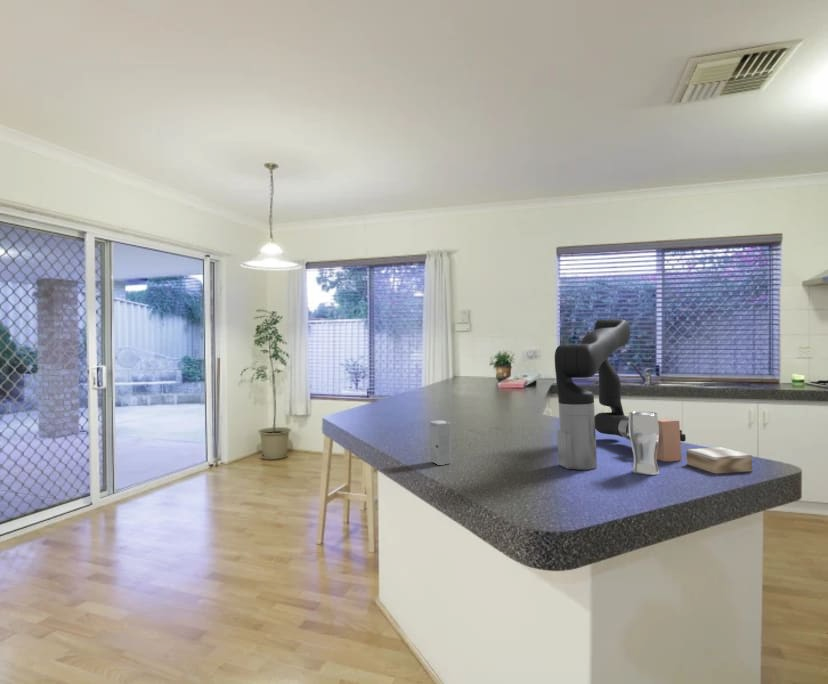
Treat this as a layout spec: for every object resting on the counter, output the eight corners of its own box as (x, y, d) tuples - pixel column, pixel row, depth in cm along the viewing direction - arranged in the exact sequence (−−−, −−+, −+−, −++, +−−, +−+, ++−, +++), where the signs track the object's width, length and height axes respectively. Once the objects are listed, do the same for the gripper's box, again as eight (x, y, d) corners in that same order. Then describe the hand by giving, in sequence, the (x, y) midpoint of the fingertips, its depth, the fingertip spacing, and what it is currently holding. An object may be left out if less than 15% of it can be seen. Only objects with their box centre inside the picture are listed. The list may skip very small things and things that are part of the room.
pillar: (664, 461, 130) (662, 421, 130) (653, 457, 135) (651, 419, 135) (681, 460, 130) (679, 420, 130) (669, 456, 135) (667, 418, 135)
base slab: (715, 473, 116) (714, 457, 116) (687, 464, 125) (686, 449, 126) (752, 471, 117) (751, 454, 117) (721, 462, 126) (721, 447, 127)
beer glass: (660, 470, 121) (657, 411, 121) (661, 476, 114) (658, 415, 115) (630, 468, 124) (627, 411, 124) (630, 474, 117) (627, 414, 118)
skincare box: (429, 462, 139) (427, 421, 139) (442, 460, 140) (441, 419, 141) (438, 466, 133) (436, 423, 133) (452, 464, 135) (450, 422, 135)
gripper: (614, 418, 146) (645, 426, 130) (657, 416, 148) (693, 423, 132) (615, 443, 146) (646, 453, 130) (658, 440, 148) (694, 450, 131)
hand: (669, 438), depth 131 cm, fingers open, 8 cm apart
